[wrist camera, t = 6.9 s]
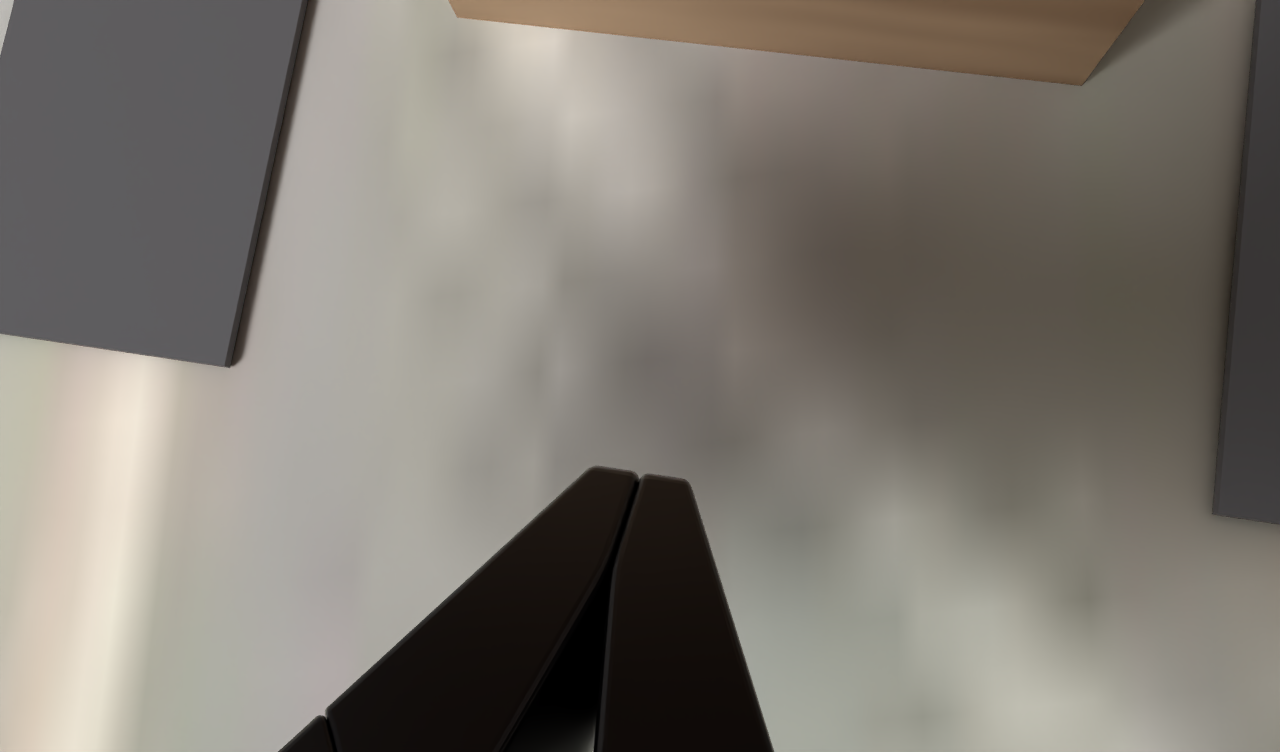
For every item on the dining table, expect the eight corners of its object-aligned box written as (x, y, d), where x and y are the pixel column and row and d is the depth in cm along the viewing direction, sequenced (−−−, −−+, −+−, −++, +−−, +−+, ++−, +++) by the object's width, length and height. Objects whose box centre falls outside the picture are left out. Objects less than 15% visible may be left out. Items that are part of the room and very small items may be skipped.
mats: (1585, 570, 15) (1596, 570, 15) (-58, 324, 18) (-67, 322, 18) (1607, 32, 17) (1617, 26, 16) (54, -123, 19) (46, -130, 19)
